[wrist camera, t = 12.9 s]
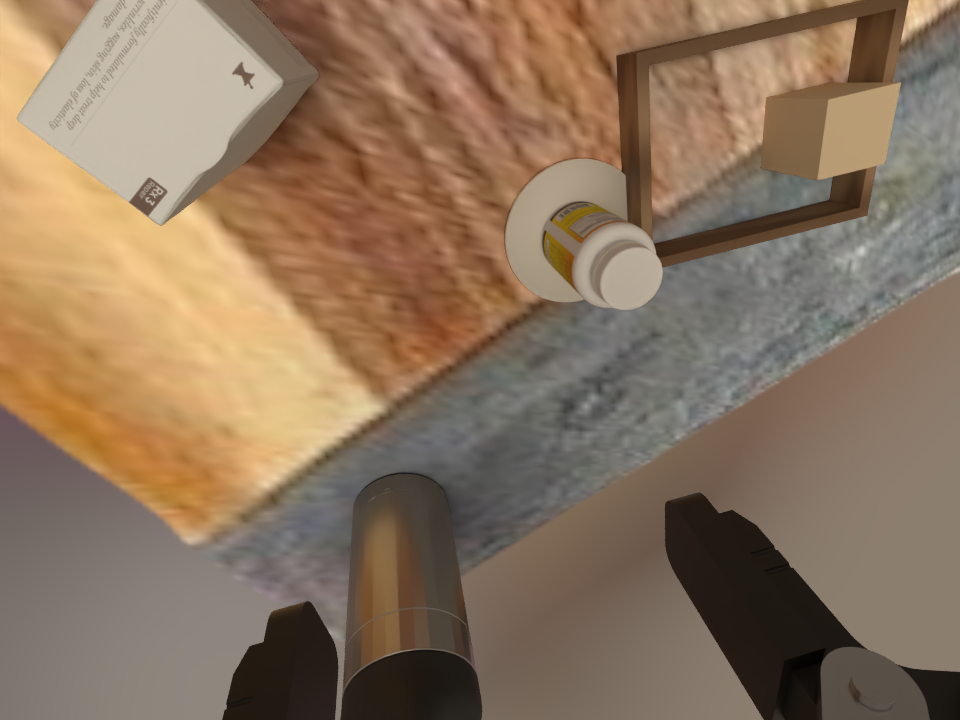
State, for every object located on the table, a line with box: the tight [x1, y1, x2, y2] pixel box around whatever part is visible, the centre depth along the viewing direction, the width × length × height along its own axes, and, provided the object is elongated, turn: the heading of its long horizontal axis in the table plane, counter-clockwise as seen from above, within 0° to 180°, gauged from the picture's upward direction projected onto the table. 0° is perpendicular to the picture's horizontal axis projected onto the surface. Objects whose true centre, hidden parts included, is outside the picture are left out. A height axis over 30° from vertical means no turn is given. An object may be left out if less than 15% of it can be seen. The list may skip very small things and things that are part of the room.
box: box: [760, 82, 901, 180], centre depth 36 cm, size 5×5×6 cm
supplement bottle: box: [542, 201, 663, 310], centre depth 35 cm, size 6×6×10 cm
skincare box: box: [17, 0, 320, 226], centre depth 25 cm, size 8×6×15 cm
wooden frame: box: [617, 0, 909, 267], centre depth 37 cm, size 15×19×3 cm
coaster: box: [504, 158, 628, 302], centre depth 39 cm, size 11×11×1 cm
